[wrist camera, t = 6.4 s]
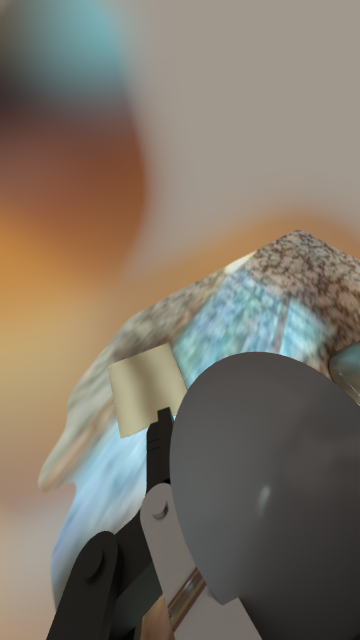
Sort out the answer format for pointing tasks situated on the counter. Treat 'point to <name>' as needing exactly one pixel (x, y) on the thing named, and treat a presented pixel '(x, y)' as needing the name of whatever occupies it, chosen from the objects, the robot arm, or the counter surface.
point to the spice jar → (272, 493)
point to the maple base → (145, 388)
